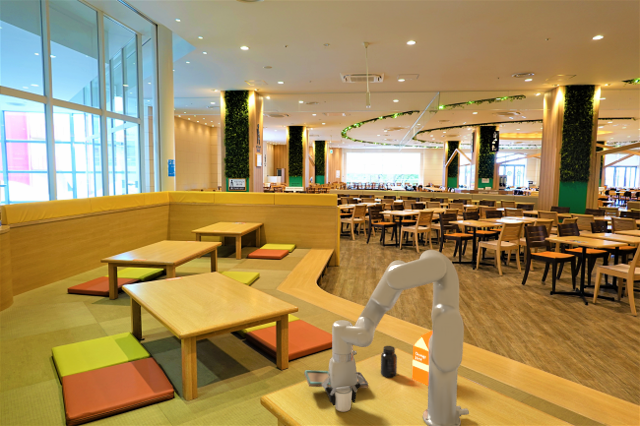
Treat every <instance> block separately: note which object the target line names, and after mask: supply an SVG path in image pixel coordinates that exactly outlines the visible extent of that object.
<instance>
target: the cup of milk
mask: <svg viewBox="0 0 640 426" xmlns="http://www.w3.org/2000/svg"><path fill="white" fill-rule="evenodd" d="M334 394H335V406H334V407H335V409H336V411H339V412H348V411H350V410H351V406H352V400H351V398H352V388H351V387H350V386H348V387H341V388H336V390H335V392H334Z"/></svg>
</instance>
